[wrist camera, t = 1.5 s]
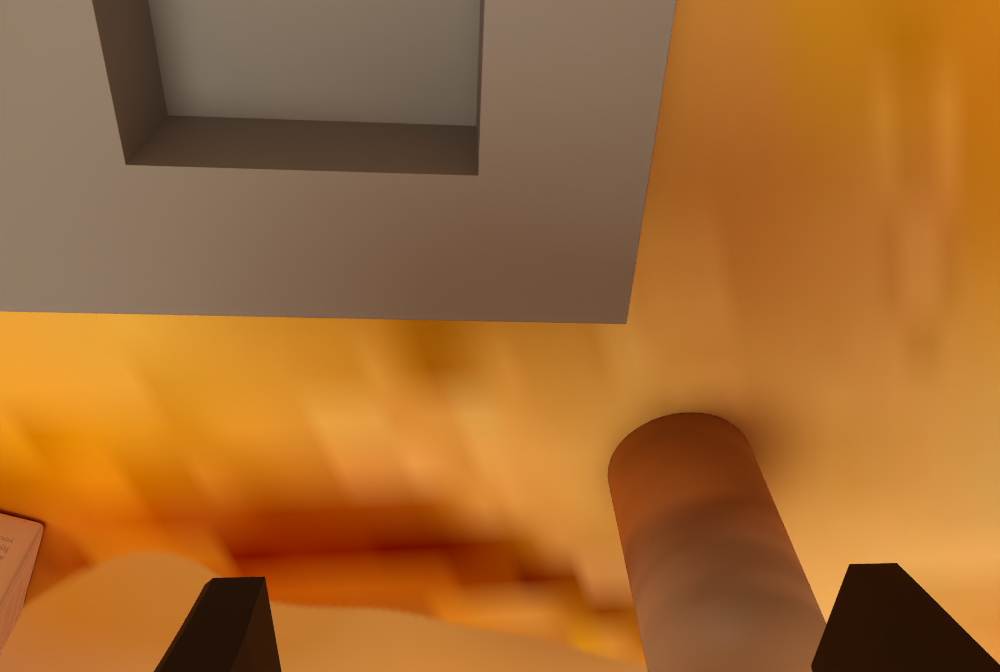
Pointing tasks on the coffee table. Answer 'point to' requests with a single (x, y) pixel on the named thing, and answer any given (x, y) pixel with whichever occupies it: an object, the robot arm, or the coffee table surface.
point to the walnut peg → (709, 552)
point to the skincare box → (15, 568)
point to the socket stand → (328, 156)
